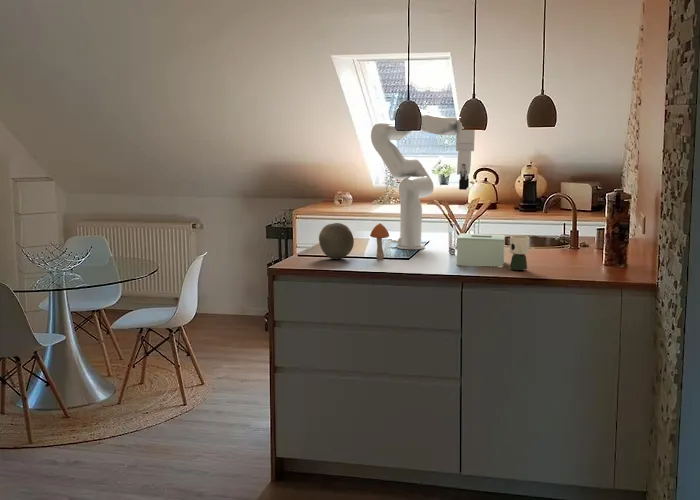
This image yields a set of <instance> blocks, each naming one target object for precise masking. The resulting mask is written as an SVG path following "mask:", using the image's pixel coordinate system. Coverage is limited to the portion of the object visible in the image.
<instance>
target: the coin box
mask: <svg viewBox="0 0 700 500" xmlns="http://www.w3.org/2000/svg"><path fill="white" fill-rule="evenodd" d="M505 244H506V235H505V234H486V233H483V234H482V233H463V232H462V233H459V235H458V236H457V242H456V266H459V265H461V267H463V266H464V267H481V266H491V267H490V268H496V267H495V266H503V267H504V265H503V264H505V246H506V245H505ZM492 266H494V267H492Z"/></svg>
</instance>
